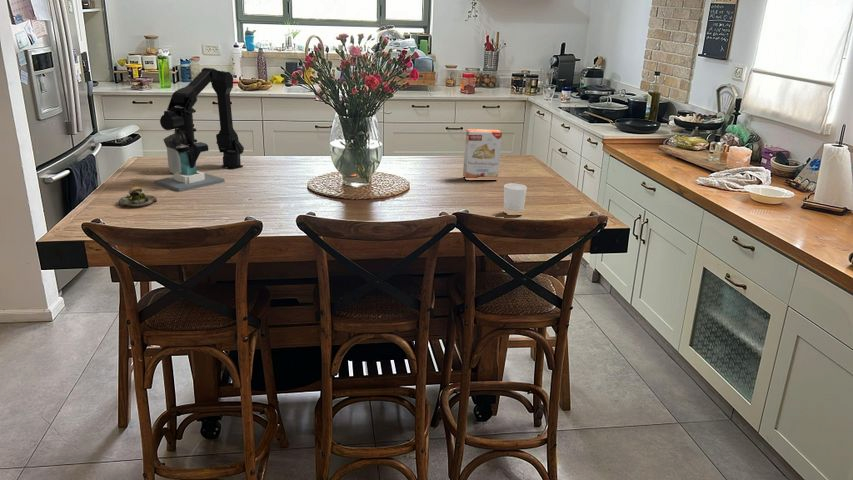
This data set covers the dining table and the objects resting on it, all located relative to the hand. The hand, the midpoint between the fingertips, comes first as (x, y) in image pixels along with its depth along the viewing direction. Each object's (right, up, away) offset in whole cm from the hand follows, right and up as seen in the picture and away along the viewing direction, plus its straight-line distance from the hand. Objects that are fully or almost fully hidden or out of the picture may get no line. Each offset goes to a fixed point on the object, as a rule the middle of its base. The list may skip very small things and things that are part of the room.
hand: (188, 166), depth 252 cm
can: (-10, -1, +16) cm, 18 cm away
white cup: (+121, -19, -17) cm, 124 cm away
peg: (0, -2, +1) cm, 2 cm away
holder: (0, -6, +2) cm, 6 cm away
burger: (-8, -16, -25) cm, 31 cm away
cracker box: (+113, -3, +26) cm, 116 cm away
